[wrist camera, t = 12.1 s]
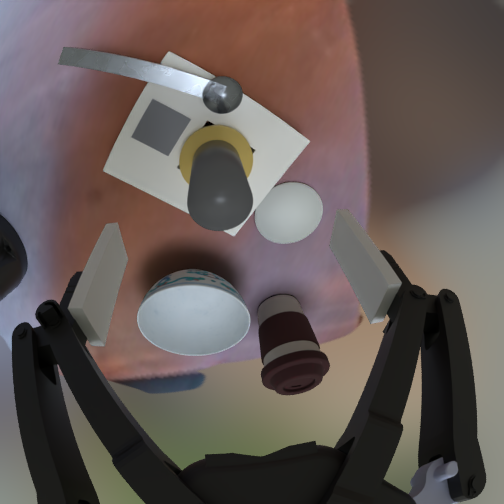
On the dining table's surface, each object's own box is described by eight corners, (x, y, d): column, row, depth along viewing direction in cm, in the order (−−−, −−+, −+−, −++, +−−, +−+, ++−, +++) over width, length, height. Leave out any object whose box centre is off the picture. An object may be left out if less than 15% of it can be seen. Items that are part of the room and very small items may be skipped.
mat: (240, 223, 36) (241, 225, 35) (284, 168, 32) (285, 169, 31) (292, 251, 40) (293, 253, 39) (334, 204, 36) (335, 206, 36)
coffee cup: (277, 278, 43) (302, 363, 31) (317, 300, 47) (346, 374, 36) (237, 314, 47) (249, 395, 35) (278, 331, 51) (296, 402, 40)
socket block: (110, 161, 28) (98, 175, 24) (172, 52, 22) (166, 50, 18) (232, 223, 35) (235, 243, 32) (301, 134, 29) (314, 145, 26)
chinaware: (263, 282, 43) (273, 321, 37) (198, 328, 47) (199, 365, 41) (188, 224, 35) (185, 264, 29) (126, 287, 39) (117, 326, 33)
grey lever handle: (245, 83, 21) (249, 85, 19) (230, 114, 23) (232, 119, 21) (78, 39, 15) (66, 38, 13) (67, 71, 17) (55, 72, 15)
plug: (171, 160, 29) (151, 219, 19) (205, 107, 26) (203, 133, 16) (224, 189, 32) (234, 258, 22) (260, 140, 29) (291, 188, 19)
